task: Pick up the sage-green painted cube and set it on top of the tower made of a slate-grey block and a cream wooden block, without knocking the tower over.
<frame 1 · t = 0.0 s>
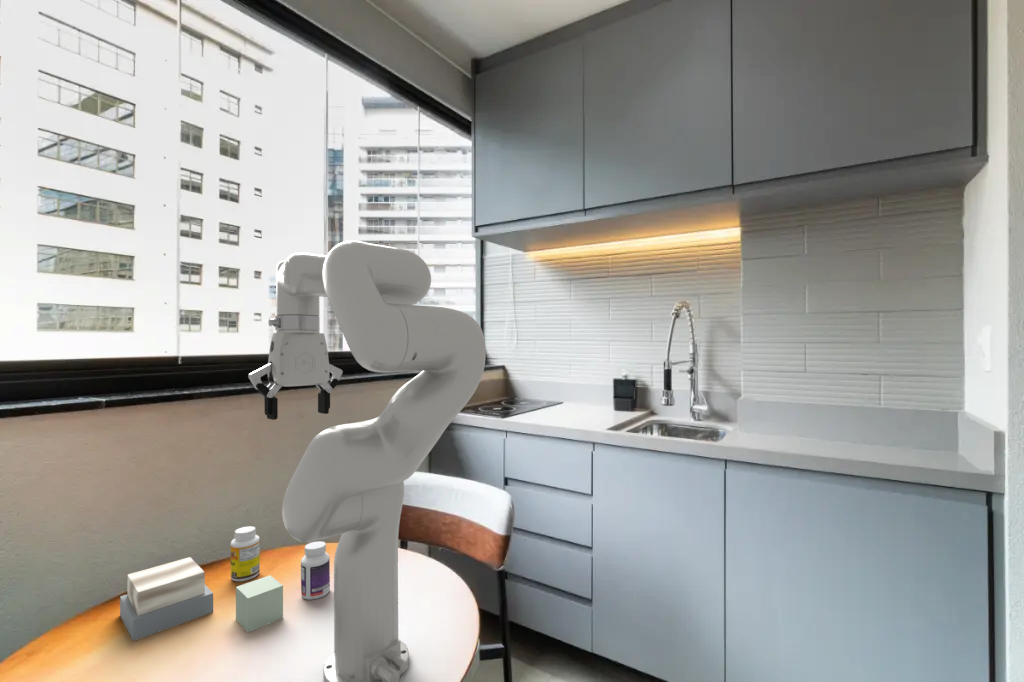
hand: (298, 415, 90), 37 cm above the table, tool pointing down, fingers open, 9 cm apart
sage block: (259, 619, 87), on the table
top block: (166, 594, 89), point 4 cm above the table, touching base block
base block: (166, 616, 89), on the table, touching top block
supplement bottle: (245, 577, 104), on the table
pill bottle: (315, 594, 96), on the table
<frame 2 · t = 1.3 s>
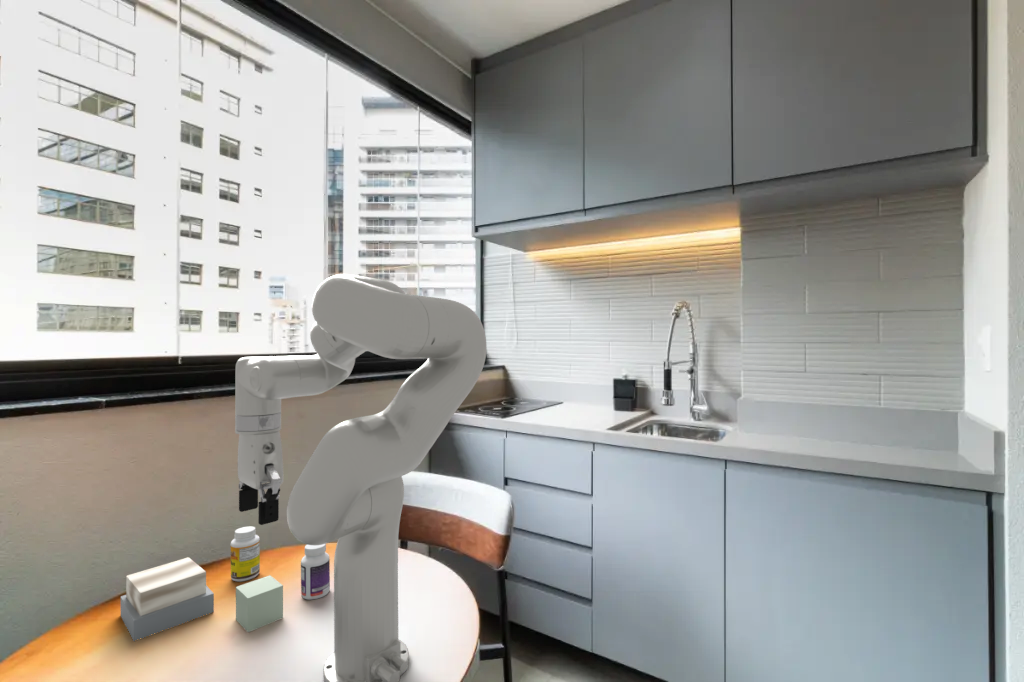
hand: (258, 515, 88), 19 cm above the table, tool pointing down, fingers open, 9 cm apart
nothing on the table moved.
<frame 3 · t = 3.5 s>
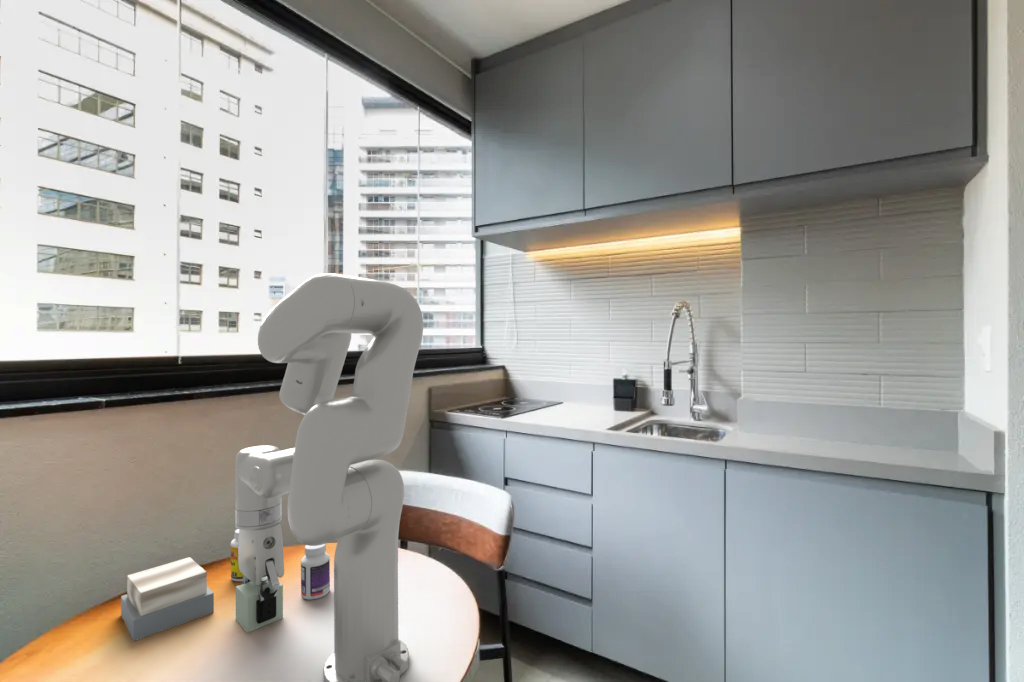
hand: (259, 612, 87), 1 cm above the table, tool pointing down, fingers closed on sage block, 6 cm apart
sage block: (259, 618, 87), on the table, touching gripper
everything else where it was.
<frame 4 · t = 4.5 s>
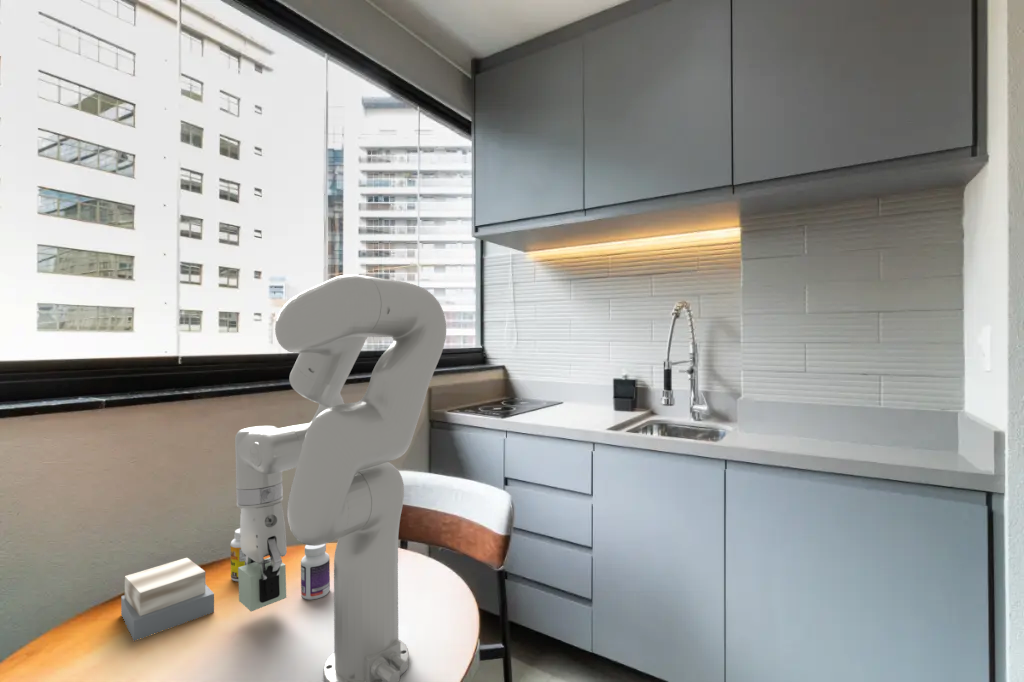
hand: (262, 592, 87), 5 cm above the table, tool pointing down, fingers closed on sage block, 6 cm apart
sage block: (262, 599, 87), point 4 cm above the table, touching gripper
everything else where it was.
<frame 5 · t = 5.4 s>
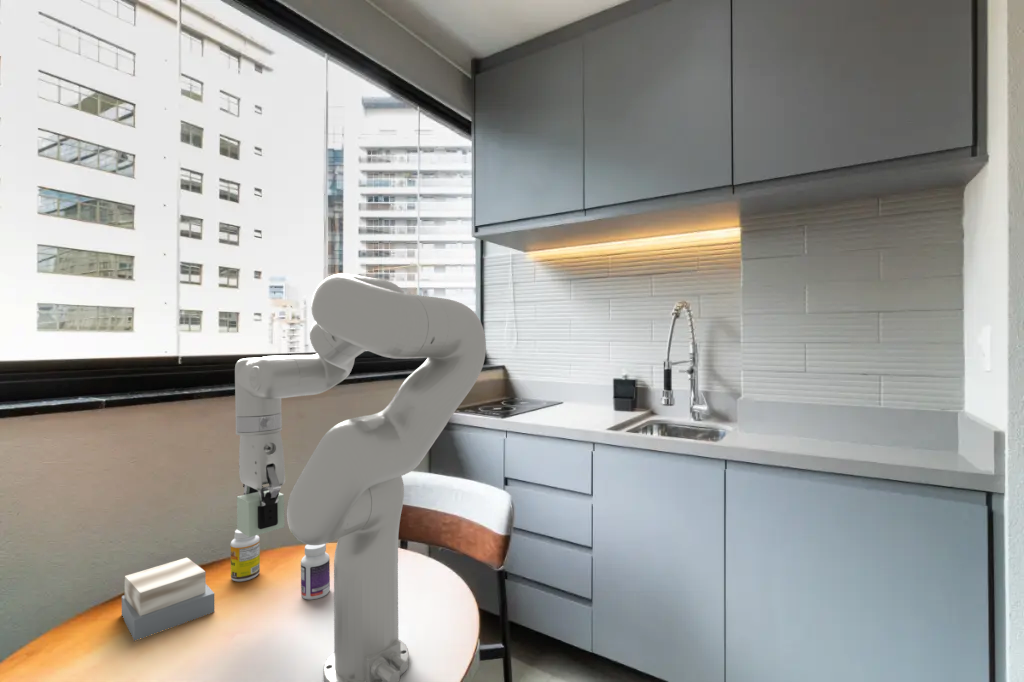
hand: (260, 521, 87), 18 cm above the table, tool pointing down, fingers closed on sage block, 6 cm apart
sage block: (260, 528, 87), point 17 cm above the table, touching gripper
everything else where it was.
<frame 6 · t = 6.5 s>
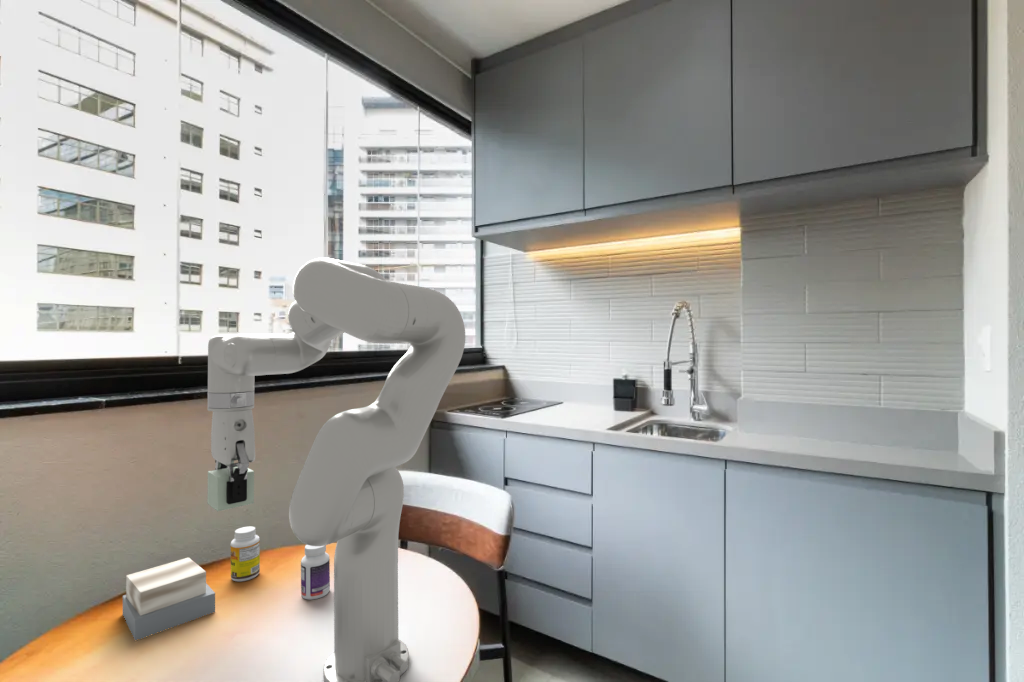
hand: (230, 497, 88), 22 cm above the table, tool pointing down, fingers closed on sage block, 6 cm apart
sage block: (230, 503, 88), point 21 cm above the table, touching gripper
everything else where it was.
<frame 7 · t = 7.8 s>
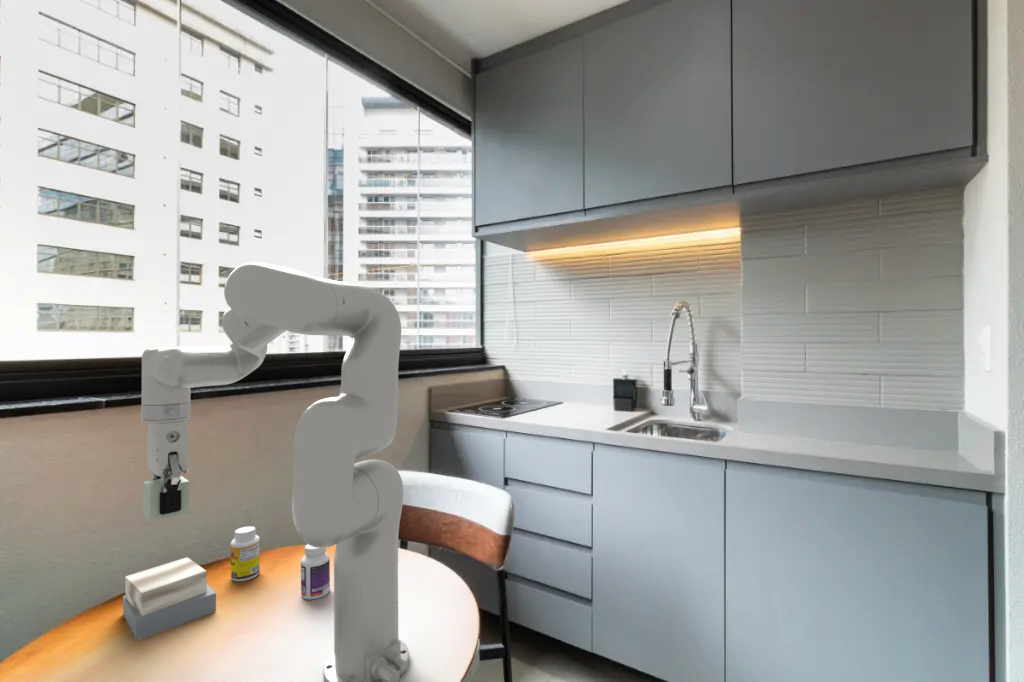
hand: (165, 507, 90), 20 cm above the table, tool pointing down, fingers closed on sage block, 6 cm apart
sage block: (165, 513, 90), point 19 cm above the table, touching gripper
everything else where it was.
when the fingers open (10 cm above the table, at t = 10.1 s): sage block drops 1 cm, resting on top block.
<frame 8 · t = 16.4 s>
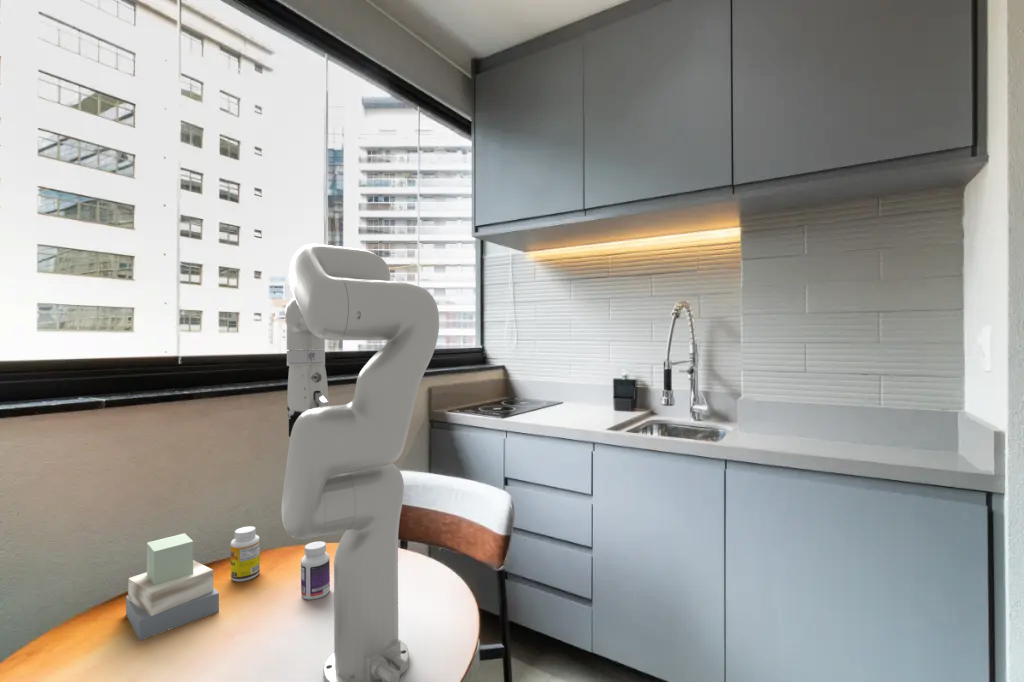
hand: (306, 438, 101), 30 cm above the table, tool pointing down, fingers open, 9 cm apart
sage block: (170, 574, 89), point 7 cm above the table, touching top block
top block: (171, 595, 89), point 3 cm above the table, touching base block, sage block
everything else where it was.
at the end: sage block 0.3 cm off-centre on the top block, point 4.0 cm above the top block's base; sage block tilted 0°; top block 1.1 cm from the target spot, point 3.4 cm above the table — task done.
